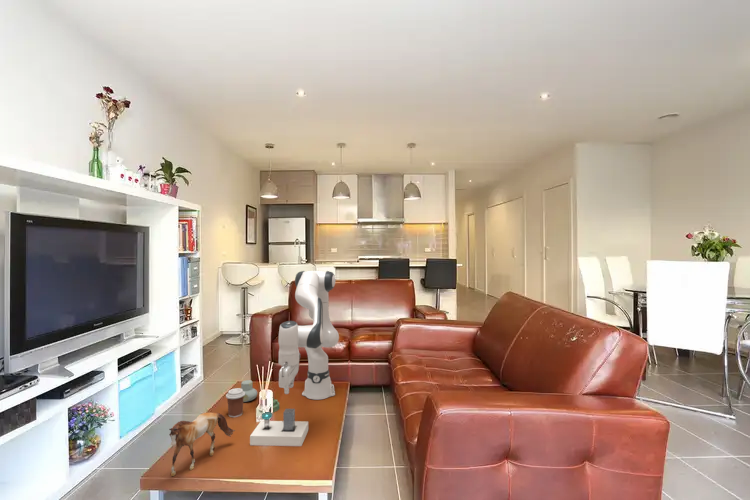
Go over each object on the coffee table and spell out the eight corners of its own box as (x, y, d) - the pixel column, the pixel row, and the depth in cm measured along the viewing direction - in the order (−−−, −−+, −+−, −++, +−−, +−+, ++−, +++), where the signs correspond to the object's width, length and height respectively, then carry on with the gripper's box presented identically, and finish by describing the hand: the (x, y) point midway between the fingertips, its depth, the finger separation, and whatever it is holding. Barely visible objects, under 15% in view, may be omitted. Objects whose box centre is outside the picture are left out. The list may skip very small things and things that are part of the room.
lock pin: (263, 426, 172) (263, 412, 172) (273, 426, 172) (273, 412, 172) (260, 431, 168) (260, 416, 168) (270, 431, 168) (270, 416, 168)
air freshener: (233, 402, 208) (233, 383, 208) (242, 396, 216) (242, 378, 216) (251, 403, 206) (251, 385, 206) (259, 397, 214) (259, 380, 214)
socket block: (261, 429, 177) (261, 420, 177) (308, 430, 176) (308, 421, 176) (250, 445, 163) (250, 435, 163) (301, 446, 162) (301, 436, 162)
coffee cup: (236, 419, 187) (236, 395, 187) (221, 416, 190) (221, 392, 190) (249, 412, 196) (249, 388, 195) (234, 409, 199) (234, 386, 199)
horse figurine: (173, 486, 136) (172, 428, 135) (157, 481, 139) (156, 424, 138) (235, 443, 165) (235, 396, 164) (221, 440, 168) (220, 393, 167)
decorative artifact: (279, 412, 196) (279, 404, 205) (279, 398, 196) (279, 391, 205) (259, 414, 193) (259, 406, 203) (259, 400, 193) (259, 393, 203)
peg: (286, 435, 172) (285, 408, 172) (294, 435, 172) (294, 408, 172) (283, 439, 168) (283, 412, 168) (292, 439, 168) (292, 412, 168)
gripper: (289, 366, 159) (290, 400, 159) (301, 352, 179) (301, 382, 179) (274, 366, 159) (274, 399, 159) (287, 352, 179) (288, 382, 180)
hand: (289, 390), depth 169 cm, fingers open, 6 cm apart
